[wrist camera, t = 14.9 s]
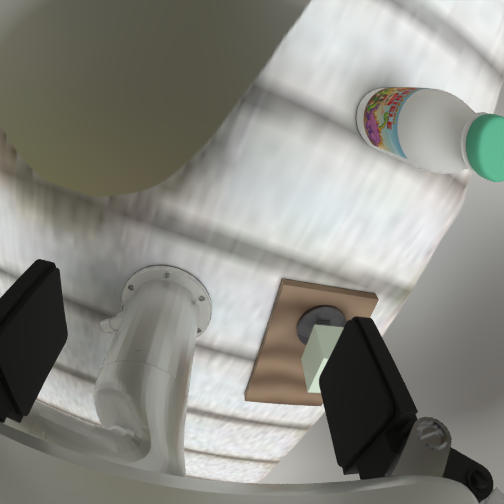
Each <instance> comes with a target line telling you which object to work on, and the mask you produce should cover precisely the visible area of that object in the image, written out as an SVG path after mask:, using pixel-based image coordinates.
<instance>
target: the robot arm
mask: <svg viewBox="0 0 504 504" xmlns="http://www.w3.org/2000/svg"><path fill="white" fill-rule="evenodd" d="M167 272H168V273H167ZM121 303H122V309H123V310H122V312H120V313H118V314H117V315H116V317H113V318H112V317H111V318H108V319H105V320H102V321H101V322H100V328H101V330H102V332H104V333H109V332H112V331H116V330H117V329H118V330H117V332H116V334H115V337H114V339H113V341H112V344H111V346H110V348H109V351H108V353H107V355H106V358H105V360H104V363H103V365H102V368H101V370H100V373H99V375H98V378H97V380H96V384H95V388H94V403H95V408H96V411H97V415H98V417H99V420H100V422H101V425H102V427H103V428H101V427H98V426H95V425H94V426H93V425H91V424H88V423H86V422H83V421H81V420H79V419H76V418H74V417H72V416H69V415H67V414H65V413H63V412H60V411H58V410H56V409H54V408H52V407H50V406H47V405H45V404H43V403H41V402H39V401H36V398H37V396H38V394H39V392H40V390H41V388H42V386H43V384H44V382H45V380H46V378H47V376H48V374H49V372H50V370H51V369H52V367H53V365H54V363H55V361H56V359H57V357H58V356H59V354H60V352H61V350H62V348H63V346H64V345H65V343H66V340H67V336H68V332H67V325H66V319H65V312H64V305H63V297H62V289H61V279H60V271H59V269H58V268H56V265H55V263H53V262H50V261H45V260H41V259H38V260H36V261H35V262H34V263H33V264H32V265H31V266H30V267H29V268H28V269H27V270H26V271H25V272H24V273H23V274H22V275H21V276H20V278H19V279H18V280H17V281H16V282H15V283H14V284H13V285H12V286H11V287H10V288H9V289H8V290H7V291H6V293H5V294H4V295H3V296H2V297H1V298H0V504H504V494H503V493H502V492H501V491H500V490H499V489H498V488H495V489H494V490H493V480H492V476H491V474H490V472H489V471H488V470H487V469H486V468H485V467H484V466H482V465H481V464H479V463H477V462H475V461H474V460H472V459H470V458H468V457H467V456H465V455H463V454H461V453H459V452H458V451H456V450H455V449H453V448H451V440H452V439H451V435H450V432H449V430H448V429H447V427H446V426H445V425H444V424H443V423H442V422H440V421H439V420H437V419H435V418H432V417H421V418H419V419H417V417H416V415H415V414H416V413H417V412H418V411H417V409H416V407H415V404H414V402H413V400H412V398H411V396H410V394H409V391H408V389H407V387H406V385H405V383H404V381H403V379H402V377H401V375H400V373H399V371H398V369H397V367H396V365H395V362H394V360H393V358H392V356H391V354H390V353H389V351H388V349H387V347H386V345H385V343H384V341H383V339H382V337H381V335H380V333H379V331H378V329H377V327H376V325H375V323H374V321H373V320H372V319H371V318H367V317H359V316H355V317H353V318H352V320H348V321H347V322H346V324H345V326H344V328H343V331H342V333H341V335H340V337H339V339H338V341H337V343H336V345H335V347H334V349H333V351H332V353H331V355H330V357H329V359H328V361H327V363H326V365H325V367H324V369H323V371H322V373H321V375H320V377H319V387H320V391H321V396H322V400H323V404H324V408H325V412H326V416H327V420H328V424H329V429H330V433H331V437H332V442H333V446H334V451H335V454H336V459H337V463H338V465H339V466H340V467H342V468H343V473H344V475H347V474H357V473H359V475H360V480H357V481H345V482H330V483H313V484H254V483H237V482H224V481H213V480H204V479H196V478H188V477H186V470H185V460H184V429H185V418H186V409H187V401H188V392H189V384H190V377H191V370H192V363H193V356H194V349H195V342H196V338H197V337H198V336H200V335H201V334H202V333H203V332H204V331H205V330H206V328H207V327H208V325H209V322H210V320H211V313H212V305H211V300H210V297H209V295H208V293H207V291H206V289H205V288H204V287H203V285H202V284H201V283H200V282H199V281H198V280H197V279H196V278H195V277H193V276H192V275H190V274H189V273H187V272H185V271H182V270H180V269H177V268H174V267H169V266H152V267H148V268H144V269H142V270H140V271H138V272H136V273H135V274H134V275H133V276H131V278H130V279H129V280H128V282H127V283H126V285H125V287H124V289H123V293H122V300H121Z"/></svg>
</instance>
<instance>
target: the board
mask: <svg viewBox="0 0 504 504" xmlns="http://www.w3.org/2000/svg"><path fill="white" fill-rule="evenodd" d="M378 300H379V299H378V297H377V296H376V294H375V293H368V292H362V291H355V290H349V289H343V288H337V287H330V286H324V285H318V284H312V283H306V282H300V281H294V280H288V279H282V281H281V284H280V287H279V291H278V294H277V297H276V300H275V303H274V307H273V310H272V313H271V316H270V319H269V322H268V325H267V328H266V331H265V335H264V338H263V341H262V344H261V347H260V350H259V353H258V356H257V359H256V362H255V365H254V368H253V371H252V374H251V377H250V380H249V383H248V386H247V388H246V391H245V401H251V402H262V403H274V404H288V405H307V406H321V405H322V404H323V400H322V396H321V393H310V392H307V386H306V381H305V376H304V371H303V365H302V360H301V358H302V355H303V353H304V350H305V348H306V345H307V343H308V340H309V337H310V335H311V332H312V329H313V327H314V324H315V325H325V326H335V327H344V326H345V324H346V322H347V321H348V320H352V318H353V317H355V316H359V317H367V318H370V316H371V314H372V312H373V310H374V308H375V306H376V304H377V302H378Z"/></svg>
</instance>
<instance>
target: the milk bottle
mask: <svg viewBox="0 0 504 504" xmlns="http://www.w3.org/2000/svg"><path fill="white" fill-rule="evenodd" d="M357 126H358V130H359V132H360V134H361V136H362V138H363V139H364V140H365V142H366V143H367V144H368V145H370V146H371V147H373V148H374V149H376V150H378V151H380V152H383V153H385V154H387V155H390V156H392V157H394V158H397V159H399V160H401V161H404V162H406V163H408V164H410V165H413V166H415V167H418V168H420V169H423V170H425V171H429V172H433V173H440V174H448V173H454V172H458V171H461V170H464V169H469V170H470V171H472V172H473V173H474V174H477V175H479V176H481V177H483V178H485V179H487V180H490V181H493V182H501V181H504V117H502V116H499V115H495V114H488V113H484V112H480V113H475V112H474V111H473V110H472V109H471V108H470V107H469V106H468V105H467V104H466V103H464V102H463V101H462V100H461V99H459V98H458V97H456V96H455V95H452V94H450V93H448V92H445V91H442V90H438V89H430V88H409V87H399V88H379V89H375V90H373V91H371V92H369V93H368V94H367V95H366V96H365V97H364V98H363V99H362V101H361V102H360V104H359V107H358V110H357Z"/></svg>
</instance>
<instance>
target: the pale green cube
mask: <svg viewBox="0 0 504 504" xmlns="http://www.w3.org/2000/svg"><path fill="white" fill-rule="evenodd" d="M343 328H344V327H335V326H325V325H315V324H314V327H313V329H312V332H311V335H310V337H309V340H308V343H307V345H306V348H305V350H304V353H303V355H302V358H301V360H302V365H303V371H304V376H305V381H306V386H307V392H310V393H321V391H320V387H319V377H320V375H321V373H322V371H323V369H324V367H325V365H326V363H327V361H328V359H329V357H330V355H331V353H332V351H333V349H334V347H335V345H336V343H337V341H338V339H339V337H340V335H341V333H342V331H343Z"/></svg>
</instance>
